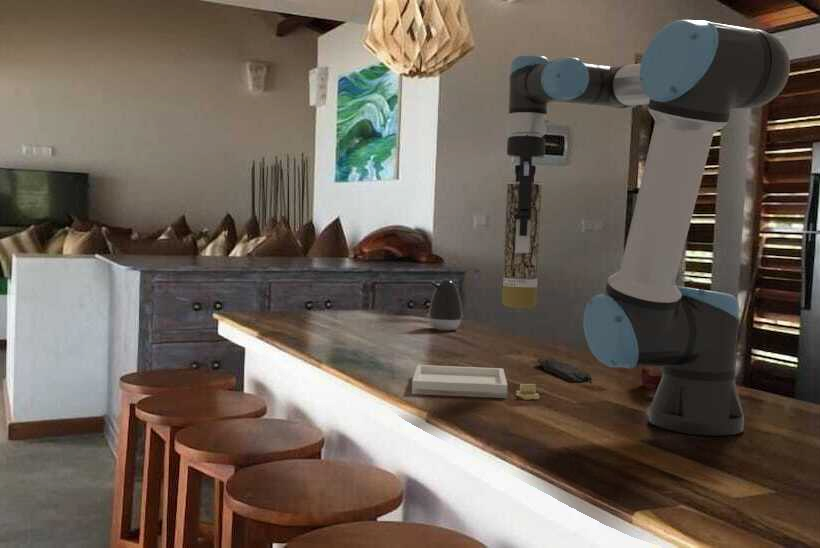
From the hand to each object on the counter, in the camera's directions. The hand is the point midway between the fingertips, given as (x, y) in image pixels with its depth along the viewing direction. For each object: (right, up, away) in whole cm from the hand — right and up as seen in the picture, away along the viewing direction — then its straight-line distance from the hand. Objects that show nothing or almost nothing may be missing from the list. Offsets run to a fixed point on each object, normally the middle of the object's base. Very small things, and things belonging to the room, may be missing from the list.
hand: (521, 251), depth 172 cm
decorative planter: (+31, -28, +4) cm, 42 cm away
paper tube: (0, -11, +1) cm, 11 cm away
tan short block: (0, -28, -9) cm, 30 cm away
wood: (+12, -27, +19) cm, 35 cm away
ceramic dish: (-12, -27, -1) cm, 30 cm away
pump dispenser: (-12, -21, +86) cm, 90 cm away
